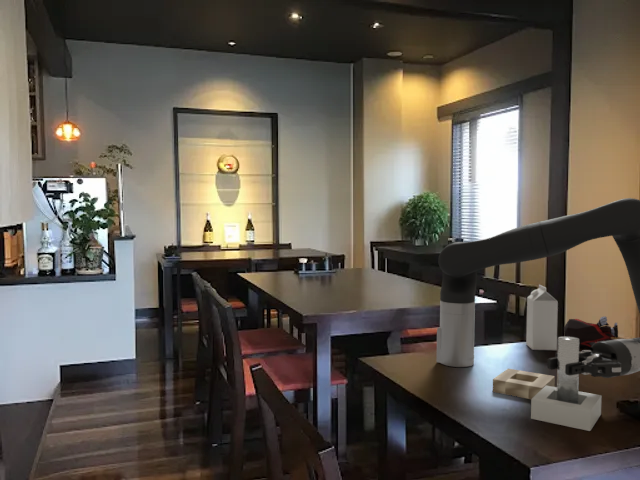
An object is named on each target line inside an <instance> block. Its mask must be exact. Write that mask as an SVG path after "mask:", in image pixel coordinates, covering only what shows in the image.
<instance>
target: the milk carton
mask: <svg viewBox="0 0 640 480" xmlns="http://www.w3.org/2000/svg"><path fill="white" fill-rule="evenodd" d="M558 301H559V300H557V299H556V298H555V297H554V296H553V295H551V294H550V293H549V292H547V287H546V286H543V285H541V284H538V288H537V289H534V290H532V291H531V292H530V294H529V295H528V296H527V299H526V302H527V303H526V338H525V339H526V343H525V344H526V345H527V347H529V348H530V349H531V350H532V351H533V350H534V351H558V311H559V310H558V309H559V307H558V306H559V303H558Z"/></svg>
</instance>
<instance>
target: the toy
mask: <svg viewBox="0 0 640 480" xmlns="http://www.w3.org/2000/svg"><path fill="white" fill-rule="evenodd" d="M607 318H608V317H607V316H601V317H600V318H599V320H598V322H597V323H592V322H587V321H584V320H582V319H579V318H569V319H568V321H567V322H566V323H565V325H564V326H563V337H575V338H578V339H579V348H587V349H590V348H591V346H592V345H593V344H595V343H597V342H602V341H609V340H616V339H615V338H617V339H618V338H619V327H618V322H614V324H613V327H611V326H610V324H609V323H608V319H607Z"/></svg>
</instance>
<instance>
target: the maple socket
mask: <svg viewBox="0 0 640 480" xmlns="http://www.w3.org/2000/svg"><path fill="white" fill-rule="evenodd" d="M555 384H556V376H555V375H549V374H544V373H538V372H531V371H527V370H526V371H525V370H520V369H519V370H518V369H515V368H507V369H505V370H504V371H502V372H501V373H500V374H498V375H497V376H495V377H493V379H492V392H493V393H496V394H501V395H507V396H511V395H512V397H516V396H517V397H518V398H522V399H528V400H531V399H532V398H533V397H534V396H535V395H536V394H537V393H538V392H540V391H541V390H542V389H543V388H544V387H545V386H552V387H556V385H555Z"/></svg>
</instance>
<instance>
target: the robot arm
mask: <svg viewBox="0 0 640 480" xmlns="http://www.w3.org/2000/svg"><path fill="white" fill-rule="evenodd" d="M606 237H612V238H613V240H614V242H615V244H616V246H617V248H618V250H619V251H620V253H621V257H622V258H623V261H624V263H625V266H626V270H627V274H628V277H629V281H630V284H631V289H632V291H633V295H634V300H635V303H636V306H637V310H638V313H639V314H640V199H637V198H633V197H632V198H631V197H628V198H622V199H618V200H615V201H612V202H609V203H606V204H604V205H601V206H597V207H595V208H592V209H589V210H585V211H581V212H578V213H573V214H568V215H563V216H559V217H555V218H551V219H547V220H542V221H541V220H540V221H537V222H533V223H528V224H524V225H521V226H518V227H515V228H511V229H510V230H507V231H504V232H502V233H499V234H496V235H494V236H492V237H488V238H483V239H479V240H474V241H473V240H471V241H466V242H463V241H455V242H453V243H452V242H451V243H449V244H448V245H446V246H445V247H443V249H441V251H440V253H439V256H438V259H437V260H438V261H437V263H438V265H439V268H440V270H441V271H442V282H441V289H440V293H439V294H440V295H439V297H440V299H439V300H440V301H439V303H440V304H439V306H440V307H439V327H437V328H436V363H440V364H441V365H444V366H447V367H448V366H449V367H452V368H453V367H454V368H455V367H456V368H466V367H471V366H473V365H474V364H475V363H474V361H475V321H476V320H475V318H476V317H475V316H476V315H475V313H476V311H475V310H476V307H475V306H476V302H475V301H476V291H477V290H476V289H477V273H478V272H479V271H481V270H484V269H487V268H491V267H494V266H499V265H501V266H502V265H508V264H510V265H511V264H517V263H523V262H530V261H536V260H541V259H544V258H549V257H553V256H556V255H560V254H562V253H565V252H566V251H569V250H570V249H572V248H573V249H574V248H575V247H577V246H579V245H582V244H583V243H586V242H589V241H592V240H596V239H601V238H606ZM557 363H558V351H556V352H555V356H554V357H549V358H548V359H547V369H548V370H551V371H552V370H557ZM637 372H640V337H633V338H617V339H615V340H609V341H602V342H597V343H595V344H593V345H592V346H591V348H588V349H583V350H581V351H579V362H576V363H569V364H566V366H565V374H566V375H569V376H570V375H576V374H579V375H580V374H582V375H584V376H586V375H591V377H593V378H594V377H595V378H596V377H601V378H604V379H605V378H606V379H610V378H617V377H621V376H628V375H632V374H635V373H637Z"/></svg>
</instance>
